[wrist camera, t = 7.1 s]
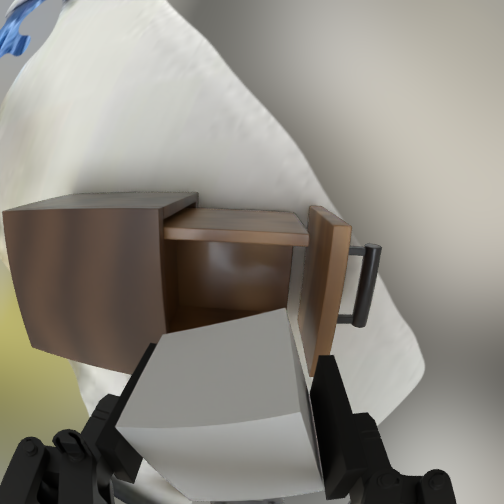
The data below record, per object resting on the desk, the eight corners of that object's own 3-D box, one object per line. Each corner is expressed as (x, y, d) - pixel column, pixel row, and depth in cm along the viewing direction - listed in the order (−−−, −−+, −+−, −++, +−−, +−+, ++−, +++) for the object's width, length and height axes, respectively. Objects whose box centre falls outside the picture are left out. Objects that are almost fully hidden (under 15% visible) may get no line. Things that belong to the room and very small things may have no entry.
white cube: (285, 306, 12) (301, 411, 7) (310, 397, 14) (325, 490, 8) (161, 334, 13) (114, 427, 7) (206, 414, 15) (190, 501, 9)
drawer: (366, 210, 25) (411, 231, 16) (348, 320, 28) (374, 374, 19) (171, 199, 25) (130, 215, 17) (175, 312, 28) (147, 364, 20)
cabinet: (198, 192, 26) (158, 208, 15) (199, 315, 29) (173, 382, 19) (71, 193, 26) (1, 211, 16) (83, 300, 29) (31, 347, 19)
